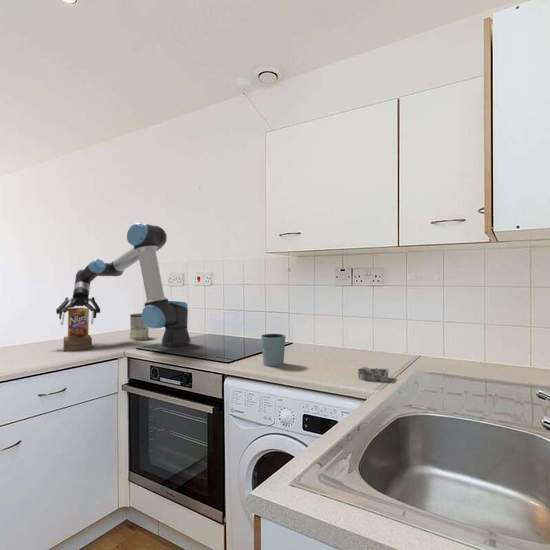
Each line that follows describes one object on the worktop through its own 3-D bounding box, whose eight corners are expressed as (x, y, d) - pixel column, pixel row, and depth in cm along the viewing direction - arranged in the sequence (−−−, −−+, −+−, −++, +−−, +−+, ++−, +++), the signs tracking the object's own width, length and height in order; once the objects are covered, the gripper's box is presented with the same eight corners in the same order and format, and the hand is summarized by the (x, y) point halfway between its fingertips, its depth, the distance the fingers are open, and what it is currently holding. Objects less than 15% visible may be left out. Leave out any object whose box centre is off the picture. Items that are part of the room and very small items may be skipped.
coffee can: (127, 337, 218) (127, 314, 218) (144, 336, 224) (145, 313, 224) (133, 340, 210) (133, 315, 210) (151, 338, 216) (151, 314, 216)
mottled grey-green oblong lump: (356, 380, 130) (356, 368, 130) (359, 375, 137) (359, 364, 137) (388, 383, 126) (387, 371, 126) (389, 378, 133) (389, 366, 133)
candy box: (67, 338, 184) (67, 308, 184) (69, 337, 188) (70, 307, 188) (86, 337, 186) (87, 307, 186) (88, 336, 190) (89, 307, 191)
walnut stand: (91, 348, 184) (91, 338, 184) (64, 350, 178) (64, 340, 178) (89, 344, 196) (89, 334, 196) (63, 346, 190) (63, 336, 190)
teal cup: (287, 362, 156) (288, 334, 156) (281, 368, 146) (282, 337, 146) (265, 360, 159) (265, 333, 159) (257, 366, 149) (257, 336, 149)
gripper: (106, 296, 206) (104, 326, 192) (55, 297, 197) (49, 328, 183) (106, 287, 201) (103, 317, 187) (54, 287, 192) (47, 319, 178)
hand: (77, 323), depth 185 cm, fingers open, 13 cm apart
